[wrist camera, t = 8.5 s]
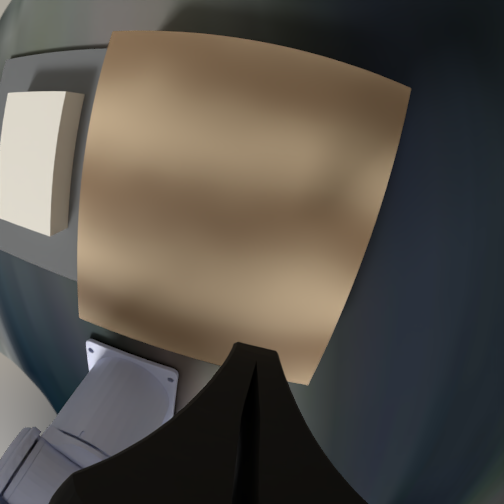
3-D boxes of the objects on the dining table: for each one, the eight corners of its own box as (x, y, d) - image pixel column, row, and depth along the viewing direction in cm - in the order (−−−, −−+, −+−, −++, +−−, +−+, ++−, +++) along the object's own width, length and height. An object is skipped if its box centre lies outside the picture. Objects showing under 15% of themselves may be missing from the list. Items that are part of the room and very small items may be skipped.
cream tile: (-3, 217, 16) (14, 210, 18) (50, 236, 16) (67, 227, 18) (8, 92, 13) (26, 93, 15) (66, 91, 13) (84, 94, 15)
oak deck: (304, 344, 20) (307, 385, 16) (108, 289, 20) (79, 317, 16) (383, 99, 14) (411, 88, 11) (145, 50, 14) (112, 31, 11)
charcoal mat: (103, 287, 20) (100, 290, 20) (-7, 243, 20) (-10, 245, 20) (138, 49, 14) (135, 48, 14) (9, 60, 15) (6, 59, 14)
